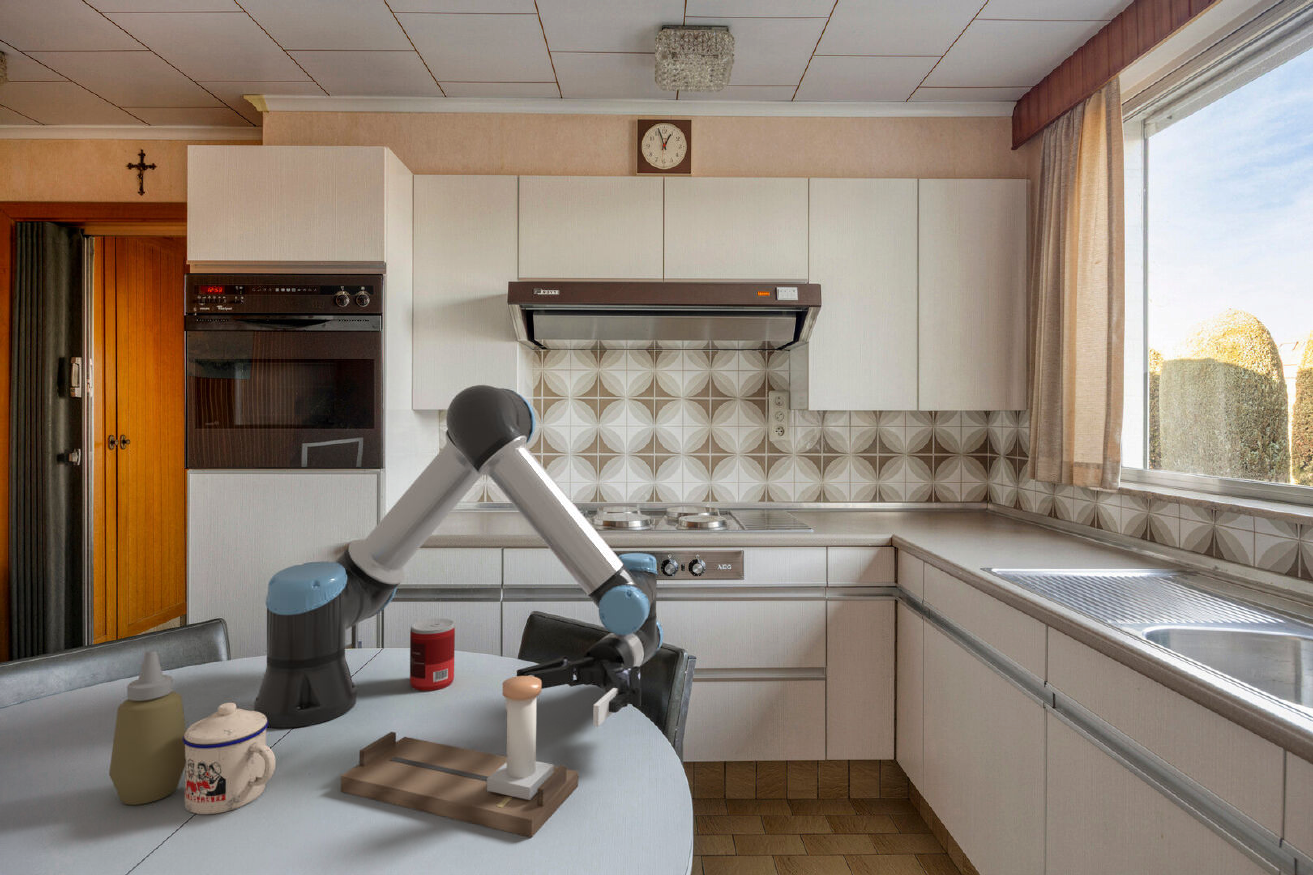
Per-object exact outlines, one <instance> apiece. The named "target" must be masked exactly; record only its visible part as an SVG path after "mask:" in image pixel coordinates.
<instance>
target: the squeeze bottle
mask: <svg viewBox="0 0 1313 875" xmlns="http://www.w3.org/2000/svg"><path fill="white" fill-rule="evenodd" d="M173 690H174V678H173V676H171V675H167V674H165V675H164V674H163V671H162V667H161V663H160V660H159V655H158V652H157V651H148V652H145V654H144V657H143V660H142V664H141V668H140V672H139V675H138V679H136V680H132V681H130V683H129V684H128V685H127V690H126V692H127V693H126V694H127V696H126V697H127V699H125V700H124V701H123V702H122V703H121V704H120V705H119V706H118V707H117V712H116V720H115V727H114V737H113V742H112V749H111V750H112V751H111V758H110V765H109V772H108V773H109V777H110V780H111V781H112V783H113V786H114V789H115V790H116V793H117V794H118V797H119V799H120V802H121V803H122V804H124V805H132V806H133V805H135V806H136V805H144V804H149V803H151V802H155V801H158V800H161V799H163V798H165V797H166V798H167V796H168V797H169V795H171V794H173V793H174V792H175V791H177V789H178V786H179V784H180V781H181V779H182V776H183V774H184V772H185V744H184V742H183V737H184V734H185V732H186V730H187V729H186V722H185V720H186V719H185V715H184V704H183V697H182V695H181V694H180V693H178V692H176V691H173Z"/></svg>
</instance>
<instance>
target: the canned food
mask: <svg viewBox="0 0 1313 875" xmlns="http://www.w3.org/2000/svg"><path fill="white" fill-rule="evenodd" d="M455 627H456V626H455V621H454V620H452V619H448V618H429V619H423V620H419V621H416V622H413V623H412V624H411V625H410V630H409V633H410V635H409V636H410V638H409V683H410V686H411V688H412V689H414V690H417V691H418V692H419V691H420V692H432V691H437V690H438V691H439V690H442V689H445V688H447V687H449V686H451V685H452V684H453V681H454V678H455V650H456V649H455V647H456V645H455V642H456V640H455V639H456V638H455V636H456V630H455V629H456V628H455Z"/></svg>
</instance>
